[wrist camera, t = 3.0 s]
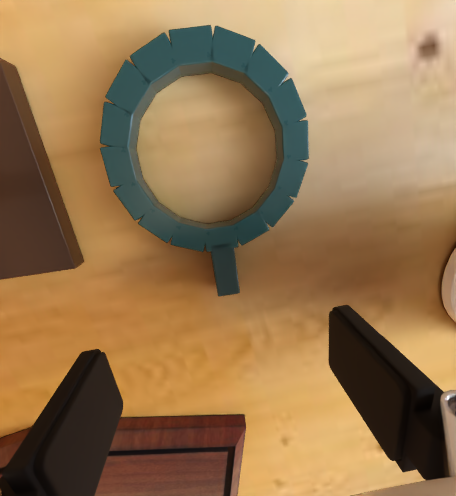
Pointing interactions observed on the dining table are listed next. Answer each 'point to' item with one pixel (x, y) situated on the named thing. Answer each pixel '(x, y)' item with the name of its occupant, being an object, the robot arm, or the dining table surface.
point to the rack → (29, 193)
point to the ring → (193, 63)
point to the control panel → (166, 456)
